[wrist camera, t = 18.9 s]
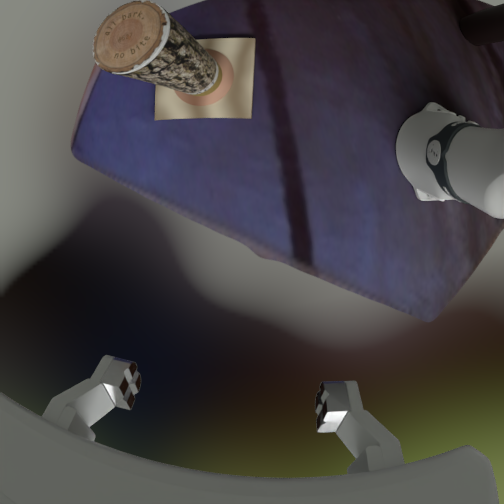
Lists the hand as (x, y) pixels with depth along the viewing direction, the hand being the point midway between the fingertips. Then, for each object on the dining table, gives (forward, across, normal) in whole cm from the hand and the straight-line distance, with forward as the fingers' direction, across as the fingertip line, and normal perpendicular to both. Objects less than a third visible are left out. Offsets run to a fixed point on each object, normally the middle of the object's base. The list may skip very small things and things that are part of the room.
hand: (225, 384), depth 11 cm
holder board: (+39, +10, -18) cm, 44 cm away
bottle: (+39, -41, -40) cm, 69 cm away
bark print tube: (+38, +10, -18) cm, 43 cm away
